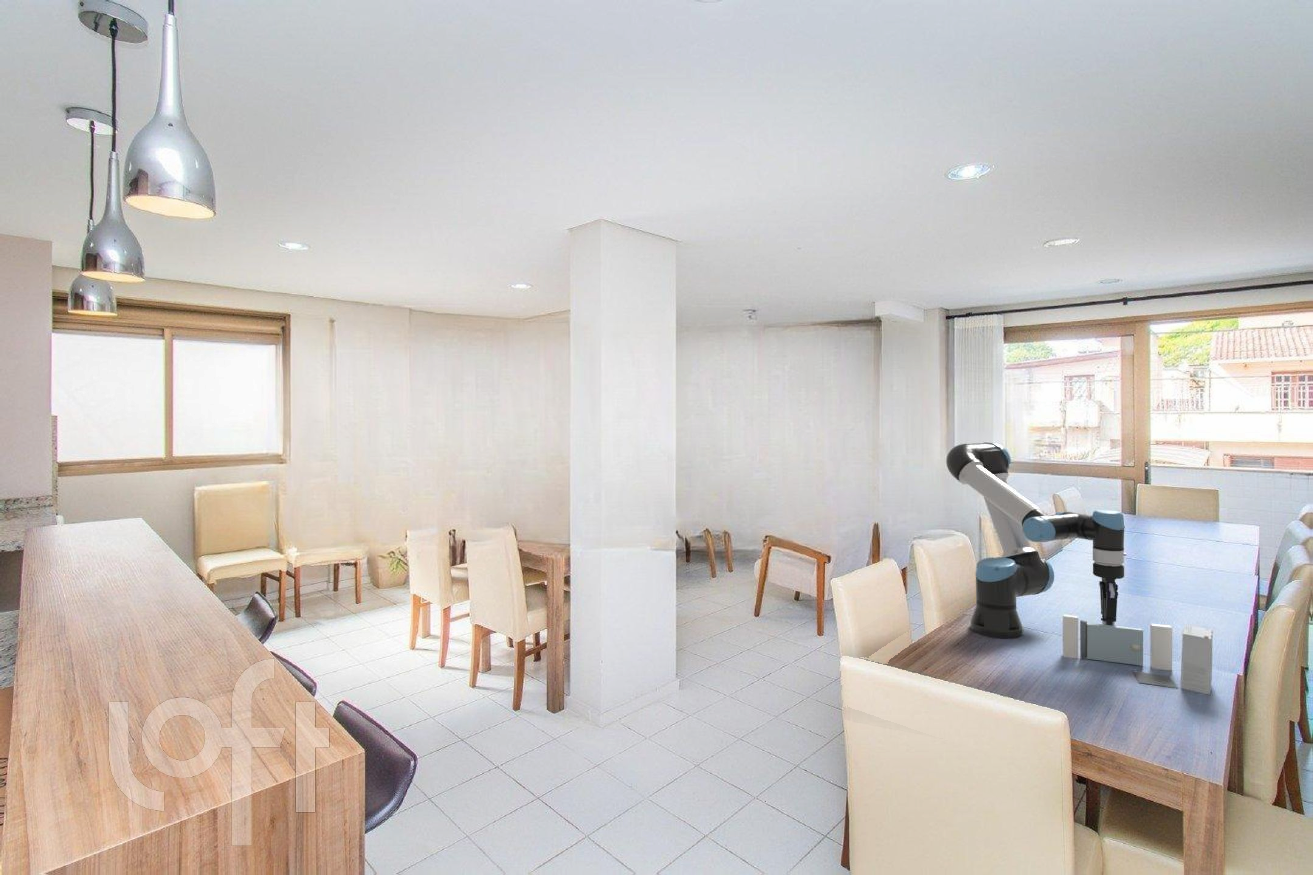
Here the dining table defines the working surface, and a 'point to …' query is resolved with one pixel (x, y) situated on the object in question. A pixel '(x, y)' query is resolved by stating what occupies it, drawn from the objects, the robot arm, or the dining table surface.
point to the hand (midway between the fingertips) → (1108, 641)
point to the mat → (1154, 679)
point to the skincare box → (1196, 659)
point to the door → (1111, 643)
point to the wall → (1158, 642)
